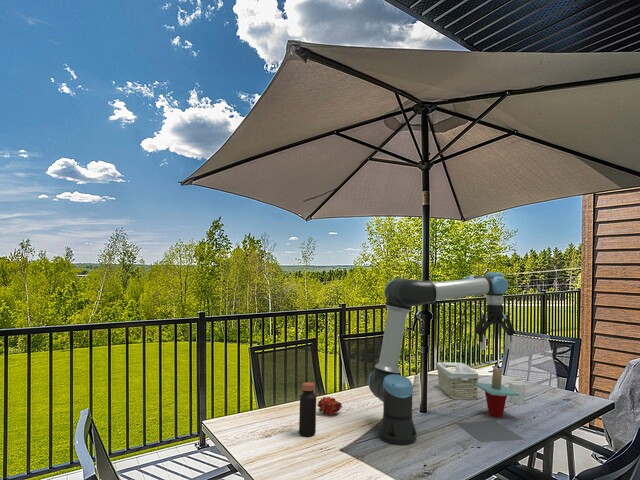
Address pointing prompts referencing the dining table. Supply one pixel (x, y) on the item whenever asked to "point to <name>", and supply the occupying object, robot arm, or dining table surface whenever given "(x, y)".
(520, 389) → the white cup
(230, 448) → the dining table surface
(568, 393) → the dining table surface
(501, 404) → the plastic cup
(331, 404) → the dragon fruit
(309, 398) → the bottle
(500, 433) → the mat
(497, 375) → the lid
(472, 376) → the storage basket
